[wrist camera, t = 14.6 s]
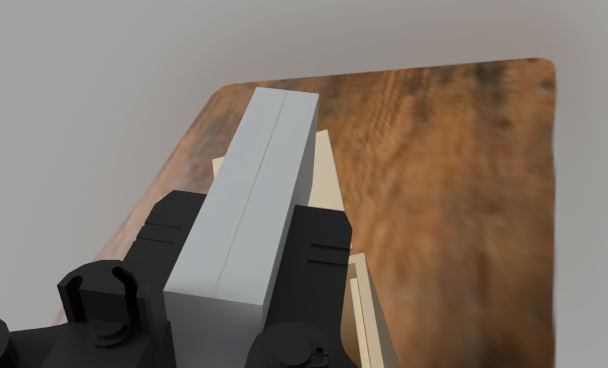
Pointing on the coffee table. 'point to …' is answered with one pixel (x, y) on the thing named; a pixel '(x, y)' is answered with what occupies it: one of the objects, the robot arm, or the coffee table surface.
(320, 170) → the front flap
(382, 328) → the carton
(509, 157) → the coffee table surface
